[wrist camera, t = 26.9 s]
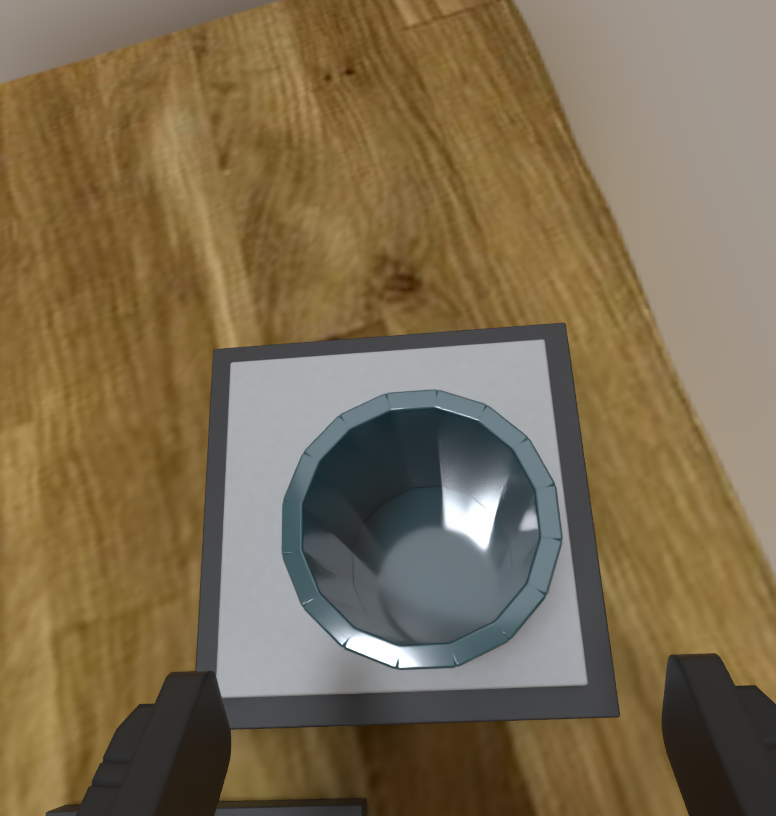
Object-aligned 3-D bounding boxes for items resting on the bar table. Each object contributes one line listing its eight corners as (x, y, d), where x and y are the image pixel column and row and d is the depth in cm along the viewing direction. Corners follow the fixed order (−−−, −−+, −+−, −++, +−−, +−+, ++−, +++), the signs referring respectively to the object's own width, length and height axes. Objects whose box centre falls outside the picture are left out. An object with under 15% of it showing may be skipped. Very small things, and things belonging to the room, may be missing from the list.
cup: (515, 471, 24) (543, 380, 16) (535, 661, 22) (578, 663, 14) (339, 482, 25) (282, 399, 17) (342, 668, 22) (278, 675, 15)
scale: (557, 349, 29) (569, 312, 26) (605, 711, 24) (626, 719, 21) (231, 372, 30) (205, 340, 27) (216, 724, 25) (182, 733, 22)
